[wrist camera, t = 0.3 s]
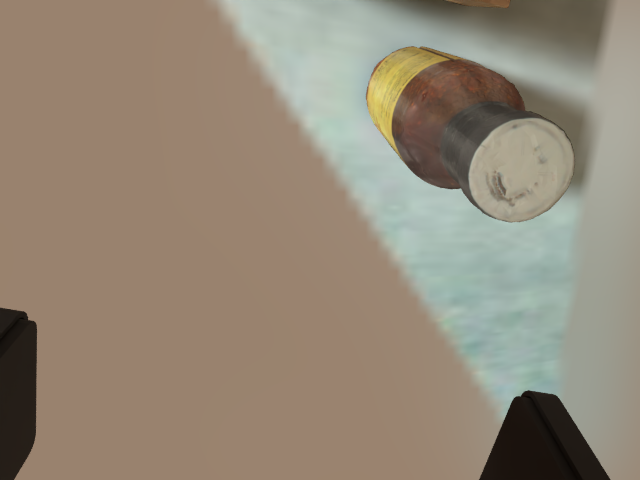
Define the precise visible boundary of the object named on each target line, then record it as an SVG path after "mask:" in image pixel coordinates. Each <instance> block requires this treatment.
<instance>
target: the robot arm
mask: <svg viewBox="0 0 640 480" xmlns="http://www.w3.org/2000/svg"><path fill="white" fill-rule="evenodd" d="M36 363H37V325H36V323H35V322H34V321H30V320H28V316H27V314H26V313H25V312H24V311H17V310H11V309H4V308H0V480H14V479H15V477H16V475H17V474H18V472H19V470H20V469H21V467H22V465H23V464H24V462H25V460H26V459H27V457H28V455H29V453H30V452H31V449H32V447H33V444H34V441H35V435H36ZM479 480H610V478H609V477H608V475H607V474H606V472H605V470H604V469H603V467H602V466H601V464H600V462H599V461H598V459H597V458H596V456H595V454H594V453H593V451H592V450H591V448H590V447H589V445H588V444H587V442H586V440H585V439H584V437H583V436H582V434H581V432H580V431H579V429H578V428H577V426H576V424H575V423H574V421H573V420H572V418H571V416H570V415H569V413H568V412H567V410H566V409H565V407H564V405H563V404H562V402H561V401H560V399H559V398H558V397H557V396H556V395H553V394H548V393H541V392H535V391H529V390H528V391H525V392H524V393H523V394H522V395H521V397H520V396H517V397H515V398H514V399H513V401H512V403H511V405H510V408H509V410H508V412H507V415H506V417H505V420H504V422H503V424H502V427H501V429H500V431H499V434H498V436H497V439H496V441H495V444H494V446H493V448H492V451H491V453H490V455H489V458H488V460H487V462H486V465H485V467H484V470H483V472H482V474H481V477H480V479H479Z"/></svg>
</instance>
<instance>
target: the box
mask: <svg viewBox="0 0 640 480" xmlns="http://www.w3.org/2000/svg"><path fill="white" fill-rule="evenodd" d="M445 1H449V2H453V3H457V4H461V5H465V6H479V7H501V8H508V6H509V3H510V0H445Z"/></svg>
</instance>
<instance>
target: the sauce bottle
mask: <svg viewBox="0 0 640 480" xmlns="http://www.w3.org/2000/svg"><path fill="white" fill-rule="evenodd" d="M366 100H367V106H368V110H369V113H370V116H371V118H372V120H373V122H374V124H375V126H376V127H377V128H378V130H379V131H380V132H381V133H382V135H383V136H384V137H385V139H386V140H387V141H388V143H389V144H390V145H391V147H392V148H393V149H394V151H395V152H396V153H397V154H398V155H399V157H400V158H401V159H402V161H403V162H404V163H405V164H406V165H407V166H408V168H409V169H410V170H411V171H412V172H413V173H414V174H415V175H417V176H418V177H419V178H421V179H422V180H424V181H425V182H427V183H429V184H431V185H434V186H437V187H440V188H447V189H460V188H461V189H462V191H463V193H464V194H465V196H466V197H467V198H468V199H469V201H470V202H471V203H472V204H473V205H474V206H476V207H477V208H478V209H480V210H481V211H482V212H483V213H484V214H486V215H488V216H490V217H492V218H495V219H498V220H502V221H506V222H522V221H526V220H530V219H533V218H534V217H536V216H539V215H541V214H542V213H544V212H546V211H548V210H549V209H550V208H551V207H552V206H553V205H554V204H555V203H556V202H557V201H558V200H559V199H560V198H561V197H562V196H563V194H564V193H565V191H566V190H567V188H568V187H569V184H570V181H571V179H572V177H573V173H574V166H575V156H574V151H573V147H572V144H571V142H570V140H569V138H568V137H567V135H566V133H565V132H564V130H562V129H561V128H560V127H558V126H557V125H556V124H555V123H553V122H552V121H550V120H548V119H546V118H544V117H542V116H541V115H539V114H536V113H533V112H527V111H525V106H524V102H523V100H522V97H521V96H520V94H519V92H518V91H517V89H516V88H515V85H514V84H512V83H510V82H509V81H507V80H506V79H505V77H503V76H502V75H500V74H498V73H496V72H494V71H492V70H490V69H487V68H485V67H483V66H482V65H480V64H478V63H475V62H472V61H469V60H466V59H463V58H460V57H457V56H453V55H450V54H447V53H443V52H440V51H437V50H434V49H430V48H427V47H420V48H417V47H413V46H412V47H406V48H403V49H399V50H397V51H395V52H392V53H391V54H390V55H389V56H387V57H386V58H384V59H383V60H382V61H380V62H379V63H378V64H377V66H376V67H375V68H374V71H373V73H372V75H371V78H370V80H369V83H368V87H367V93H366Z"/></svg>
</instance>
